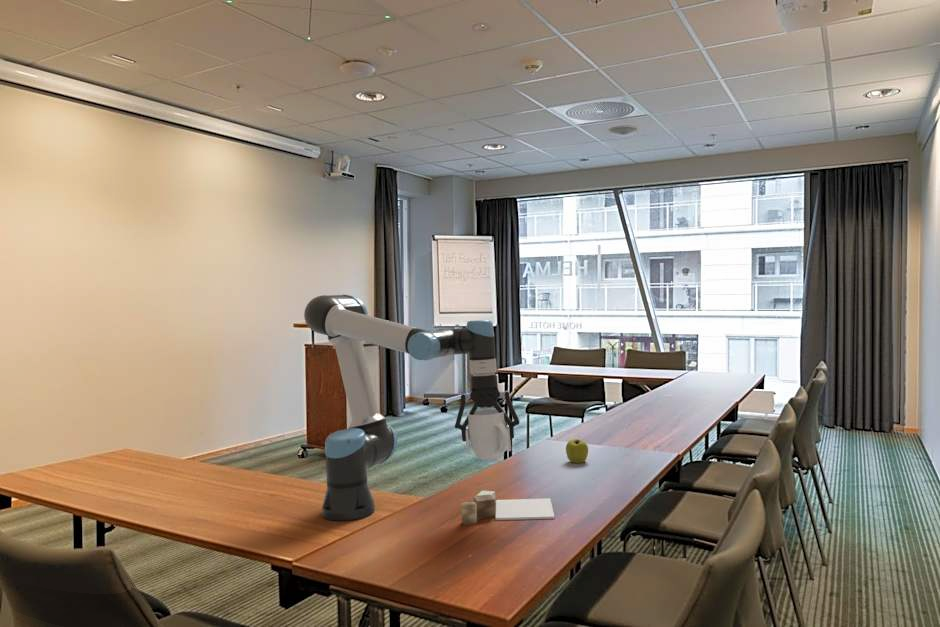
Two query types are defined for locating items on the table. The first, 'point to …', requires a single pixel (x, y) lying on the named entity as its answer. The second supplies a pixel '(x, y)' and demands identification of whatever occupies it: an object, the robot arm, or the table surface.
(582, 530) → the table surface
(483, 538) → the table surface
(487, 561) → the table surface
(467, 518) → the beech cylinder
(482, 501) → the walnut block
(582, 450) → the apple
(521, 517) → the pad
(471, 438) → the mug
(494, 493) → the sage block
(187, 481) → the table surface
